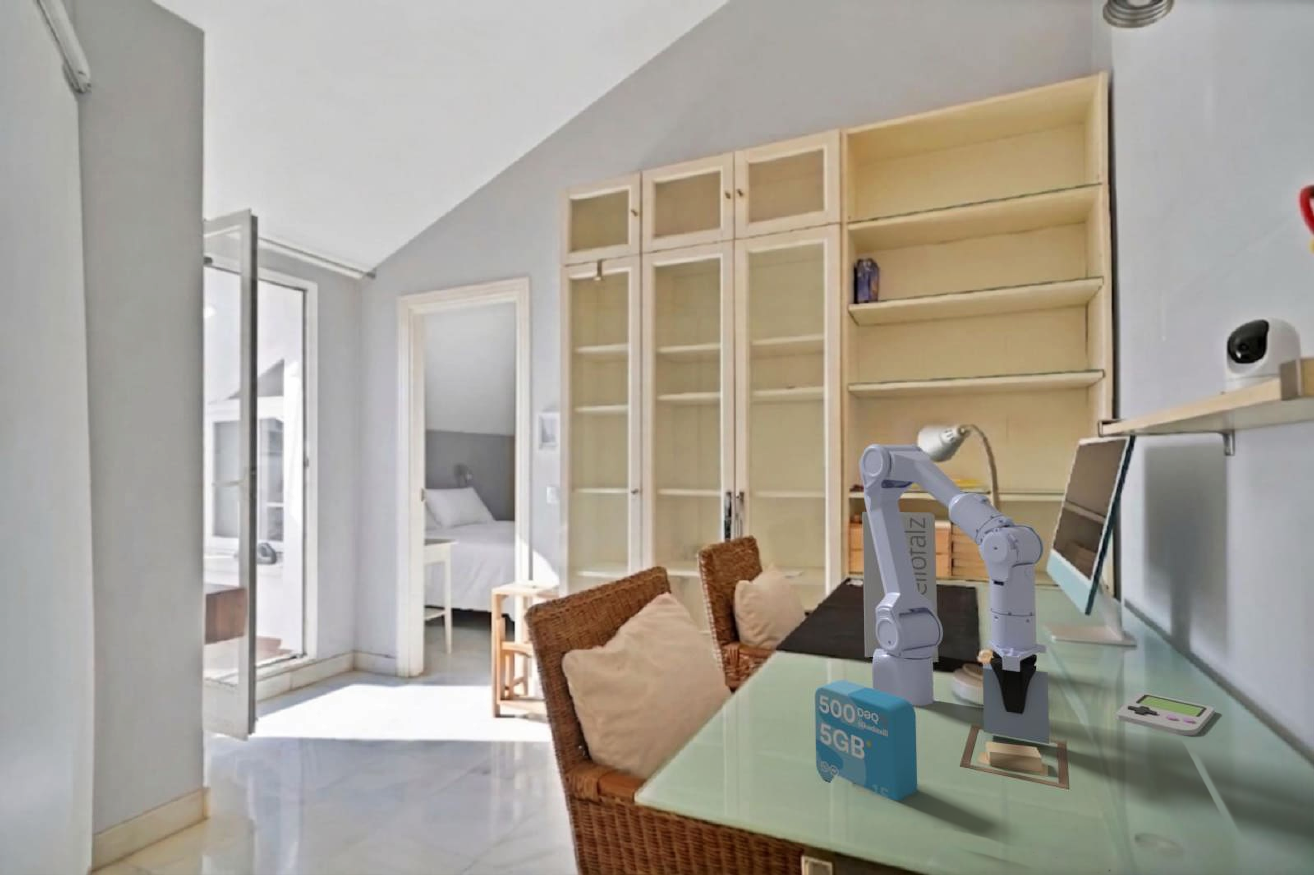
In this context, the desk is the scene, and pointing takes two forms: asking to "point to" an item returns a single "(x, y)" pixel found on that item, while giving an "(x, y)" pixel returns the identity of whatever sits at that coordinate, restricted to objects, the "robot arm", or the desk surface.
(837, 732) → the data package
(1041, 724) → the slate sheet
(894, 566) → the robot arm
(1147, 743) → the desk surface
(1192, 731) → the handheld gaming console
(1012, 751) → the upper offcut
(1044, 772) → the lower offcut
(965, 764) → the walnut frame
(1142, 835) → the desk surface
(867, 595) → the grey lettered box
